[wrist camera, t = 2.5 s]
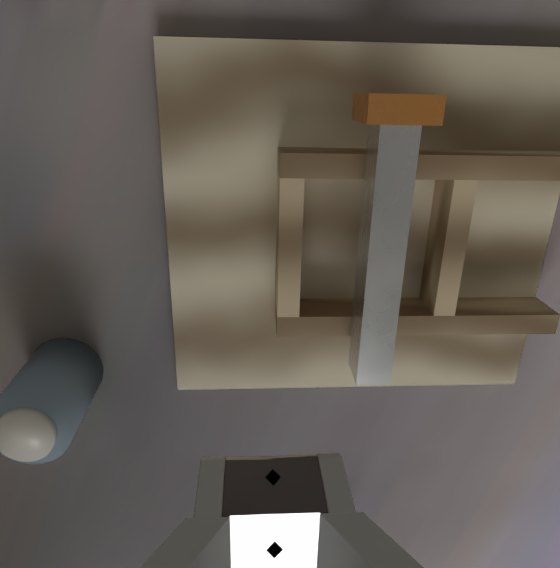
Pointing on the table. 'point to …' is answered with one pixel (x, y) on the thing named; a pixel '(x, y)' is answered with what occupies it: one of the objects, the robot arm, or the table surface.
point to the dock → (352, 207)
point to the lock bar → (385, 222)
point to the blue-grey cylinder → (48, 401)
